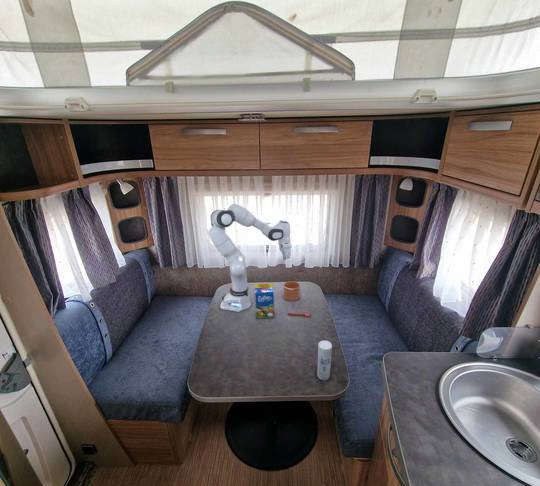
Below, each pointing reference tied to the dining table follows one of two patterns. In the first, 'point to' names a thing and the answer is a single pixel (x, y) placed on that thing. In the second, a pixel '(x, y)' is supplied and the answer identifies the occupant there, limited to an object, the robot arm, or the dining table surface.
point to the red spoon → (300, 314)
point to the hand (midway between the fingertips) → (284, 259)
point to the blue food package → (264, 300)
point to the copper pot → (291, 291)
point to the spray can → (324, 359)
